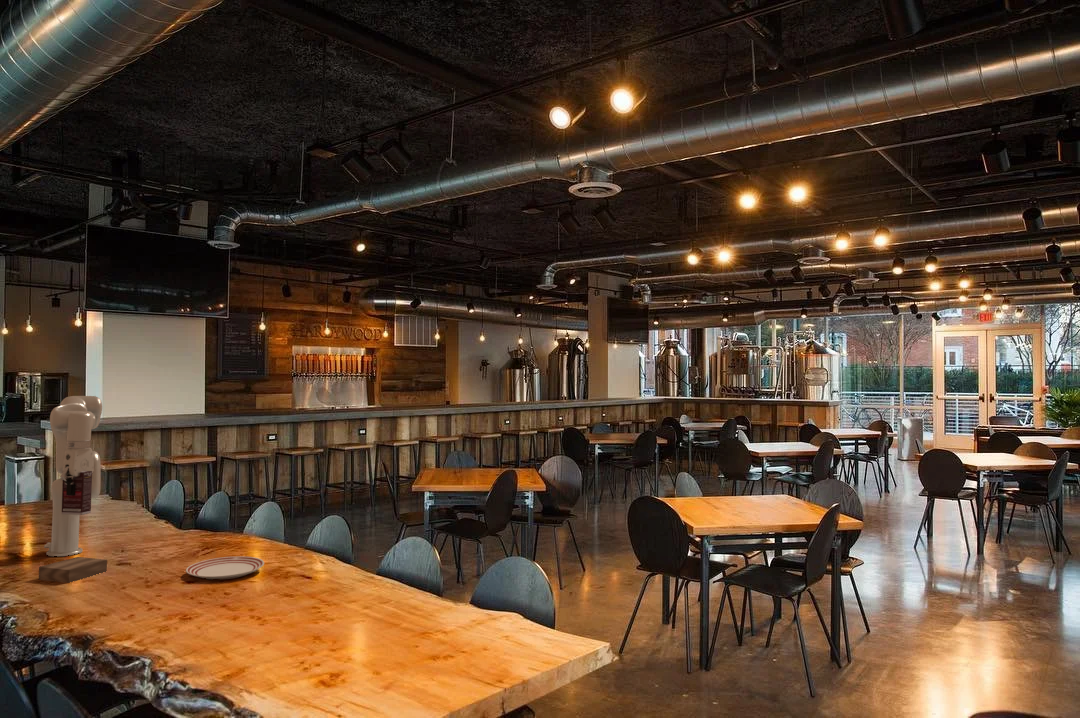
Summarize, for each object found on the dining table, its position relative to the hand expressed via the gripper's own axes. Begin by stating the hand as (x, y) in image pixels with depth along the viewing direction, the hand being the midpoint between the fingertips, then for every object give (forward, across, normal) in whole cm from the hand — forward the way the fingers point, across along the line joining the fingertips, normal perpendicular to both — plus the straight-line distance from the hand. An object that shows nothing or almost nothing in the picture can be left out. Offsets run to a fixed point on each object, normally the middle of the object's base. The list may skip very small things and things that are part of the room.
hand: (76, 493), depth 266 cm
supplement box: (+8, 0, 0) cm, 8 cm away
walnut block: (+31, 0, 0) cm, 31 cm away
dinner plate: (+31, +15, -52) cm, 62 cm away
